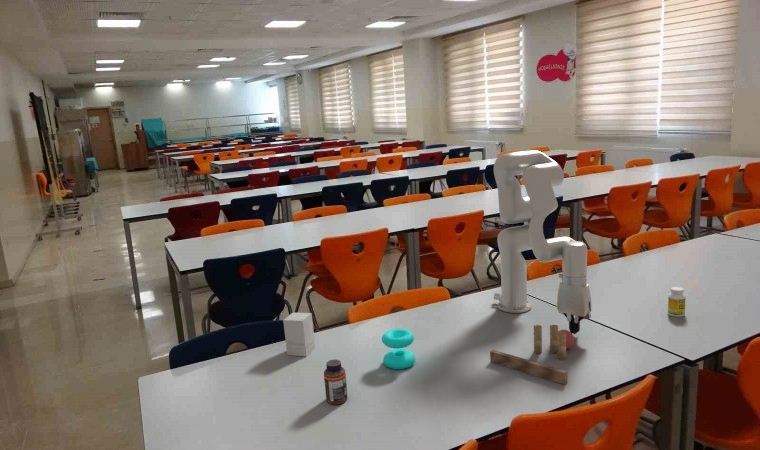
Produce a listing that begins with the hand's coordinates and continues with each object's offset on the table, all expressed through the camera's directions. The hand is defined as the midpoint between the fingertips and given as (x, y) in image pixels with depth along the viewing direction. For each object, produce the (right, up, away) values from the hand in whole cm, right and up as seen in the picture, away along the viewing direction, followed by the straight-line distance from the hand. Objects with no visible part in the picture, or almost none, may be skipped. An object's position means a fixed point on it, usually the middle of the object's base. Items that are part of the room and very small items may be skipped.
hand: (574, 332), depth 181 cm
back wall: (-21, -7, -21) cm, 31 cm away
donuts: (-58, -8, -10) cm, 60 cm away
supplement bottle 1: (-76, -13, -30) cm, 83 cm away
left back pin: (-15, -4, -9) cm, 18 cm away
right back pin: (-9, -5, -14) cm, 18 cm away
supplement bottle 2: (+41, +4, +13) cm, 43 cm away
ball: (-6, -1, -8) cm, 10 cm away
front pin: (-10, -4, -9) cm, 14 cm away
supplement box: (-91, -7, +4) cm, 91 cm away
